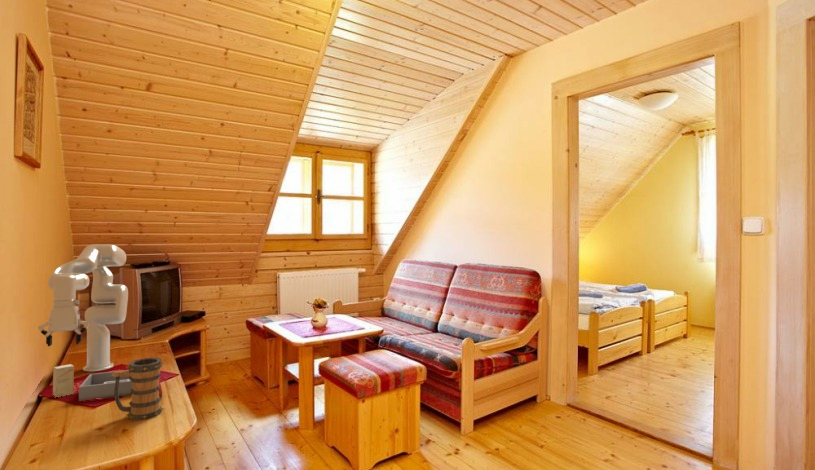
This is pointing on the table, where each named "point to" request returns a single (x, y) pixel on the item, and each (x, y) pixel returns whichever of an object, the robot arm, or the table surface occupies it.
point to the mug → (141, 388)
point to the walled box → (104, 386)
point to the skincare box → (63, 380)
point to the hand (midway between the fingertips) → (64, 344)
